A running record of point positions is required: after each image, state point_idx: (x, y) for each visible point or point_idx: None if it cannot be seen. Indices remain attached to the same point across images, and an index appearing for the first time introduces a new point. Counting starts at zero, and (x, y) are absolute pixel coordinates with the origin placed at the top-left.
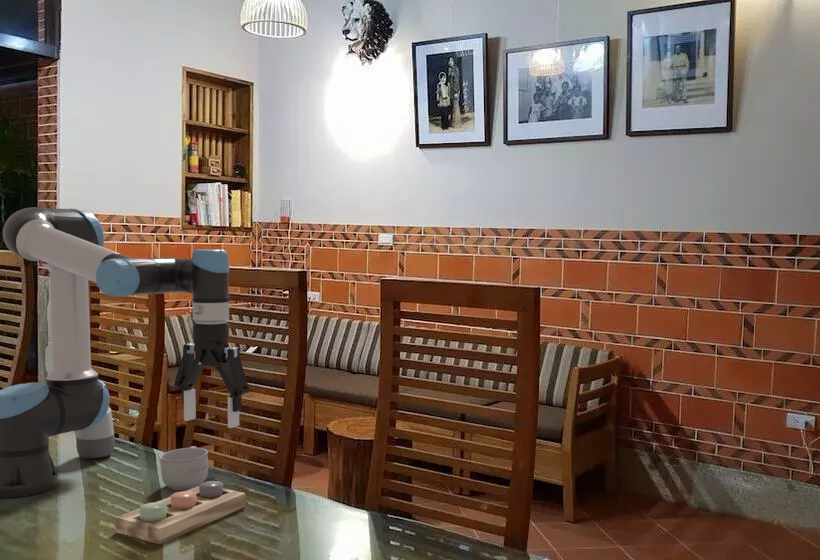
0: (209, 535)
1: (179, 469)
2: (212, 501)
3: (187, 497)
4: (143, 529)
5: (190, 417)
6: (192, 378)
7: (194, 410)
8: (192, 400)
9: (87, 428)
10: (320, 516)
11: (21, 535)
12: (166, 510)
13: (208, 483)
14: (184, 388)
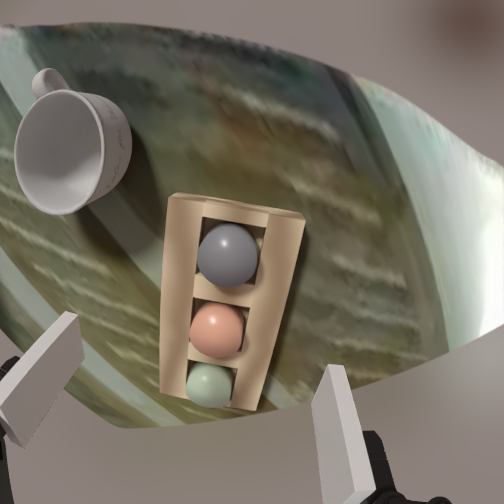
0: (308, 353)
1: (89, 202)
2: (263, 295)
3: (232, 347)
4: None
5: (77, 347)
6: (6, 499)
7: (59, 342)
8: (36, 384)
9: None
10: (456, 217)
11: (82, 395)
12: (228, 383)
13: (214, 255)
14: (4, 447)
